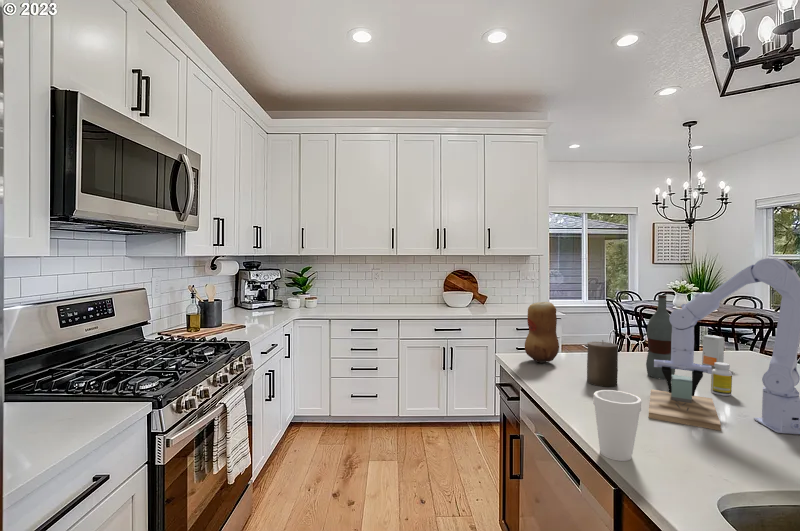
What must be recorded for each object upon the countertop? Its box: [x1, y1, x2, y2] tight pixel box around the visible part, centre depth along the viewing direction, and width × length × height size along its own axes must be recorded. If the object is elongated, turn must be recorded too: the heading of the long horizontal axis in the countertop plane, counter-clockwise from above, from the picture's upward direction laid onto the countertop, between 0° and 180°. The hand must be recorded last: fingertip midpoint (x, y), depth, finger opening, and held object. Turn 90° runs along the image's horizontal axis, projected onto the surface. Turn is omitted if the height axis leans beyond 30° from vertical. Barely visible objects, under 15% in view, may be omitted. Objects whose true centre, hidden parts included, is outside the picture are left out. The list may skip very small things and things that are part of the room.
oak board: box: [648, 388, 722, 432], centre depth 125 cm, size 24×16×2 cm, turn 149°
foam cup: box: [592, 389, 642, 462], centre depth 97 cm, size 10×9×13 cm
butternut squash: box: [524, 301, 560, 364], centre depth 179 cm, size 14×13×25 cm
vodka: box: [645, 294, 676, 380], centre depth 160 cm, size 9×9×30 cm
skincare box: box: [701, 334, 725, 368], centre depth 176 cm, size 6×4×12 cm
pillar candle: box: [586, 339, 619, 388], centre depth 151 cm, size 10×10×15 cm
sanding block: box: [671, 374, 692, 403], centre depth 131 cm, size 7×5×6 cm
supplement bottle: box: [710, 362, 733, 397], centre depth 140 cm, size 5×5×10 cm
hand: (681, 393), depth 131 cm, fingers closed on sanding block, 5 cm apart
